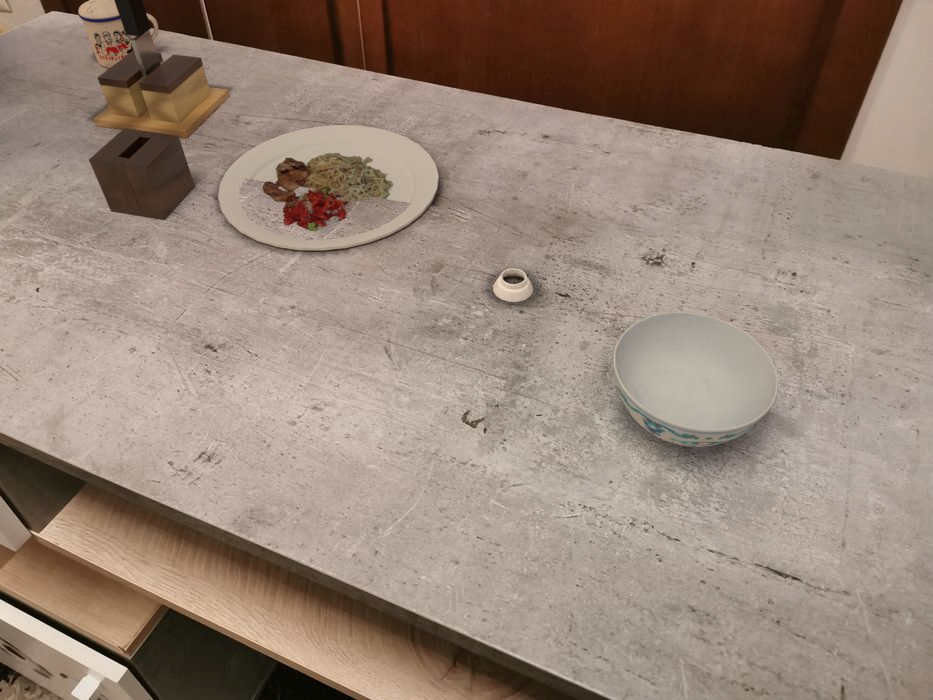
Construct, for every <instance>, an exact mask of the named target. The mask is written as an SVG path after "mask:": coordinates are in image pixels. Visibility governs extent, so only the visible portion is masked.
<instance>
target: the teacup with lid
mask: <svg viewBox="0 0 933 700" xmlns="http://www.w3.org/2000/svg"><path fill="white" fill-rule="evenodd" d="M77 14H78V17H79V18H80V19H81V21H82V24H83V26H84V30H85V31H86V34H87V37H88V39H89V42H90V44H91V48H92V50H93V53H94V56H95V58H96V61H97V63H98V64H99V65H100V66H102V67H104V68H106V69H109V68H111V67H112V66H113V65H115V64H116V63H117V62H119V61H120V60H121V59H123V58H124V57H125V56H126V55H128V54H129V53H130V52H132V51H133V47H132V44H131V41H130V40H132V39H133V38H134V37H136V36H132V35H126V33H125V30H124V27H123V24H122V21H121V18H120V16H119V13H118V10H117V7H116V4H115V1H114V0H88V1H85V2H83V3H82V4H81V5H80V6H79V7H78V13H77ZM146 14H147V17H148V20H149V22H151V23H152V25H153V28H154V29H153V33H152V34H151V37H152V40H153V41H155V40H156V39H157V37H158V34H159V24H158V21H157V19H156V18H155V17H154V16H153V15H151V13H148V12H146Z"/></svg>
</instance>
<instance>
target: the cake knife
mask: <svg viewBox="0 0 933 700" xmlns="http://www.w3.org/2000/svg"><path fill="white" fill-rule="evenodd" d="M114 1H115V4H116V7H117V10H118V13H119V16H120V18H121V21H122V24H123V27H124V30H125V33H126V35H132V36H136V37H134V38H133V39H132V40H130V41H131V44H132V47H133V50H134V53H135V56H136V59H137V62H138V65H139V68H140V71H141V74H142V76H143V79H144V78H145V77H147V76H148V75H149V74H150V73H151V72H153V71H154V70H155V69H156V68H158V67H159V66H160V62H159V59H158V56H157V53H158V52H157V50H156V47H155V44H154V40H152V37H151V35H152V34H151V31H150V30H152V27H151V24H150V20H148V17H147V14H148V13H147V11H146V8H145V5H144V1H143V0H114ZM146 13H147V14H146Z"/></svg>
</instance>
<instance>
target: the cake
mask: <svg viewBox="0 0 933 700" xmlns="http://www.w3.org/2000/svg"><path fill="white" fill-rule="evenodd" d="M156 53H157V56H158V59H159V62H160V66H159V67H158V68H156V69H155V70H154V71H153V72H151V73H150V74H149V75H148V76H147V77H145V78H144V79H143V76H142V74H141V71H140V68H139V65H138V62H137V59H136V56H135V53H134V50H133V51H132V52H130V53H129V54H128V55H126V56H125V57H124V58H123V59H121V60H120V61H119V62H117V63H116V64H115V65H113V66H112V67H111V68H107V69H106V71H104V72H103V73H101V74H100V75H99V76H98V77H97V80H98V83H99V85H100V88H101V91H102V93H103V96H104V98H105V101H106V104H107V107H105V109H103V110H102V111H100V112H99V113H98V114H97V115H96V116H95V117H93V118H92V121H93V123H94V125H95V126H96V127H102V128H108V129H109V128H111V129H116V130H123V129H124V128H128V129H135V130H142V131H149V132H156V133H163V134H171V135H178V136H179V139H180V138H181V139H188V138H189V137H190V136H191V135H192V134H193V133H194V132H196V130H197V129H198V128H199V127H200V126H201V125H202V124H203V123H205V121H206V120H207V119H208V118H209V117H210V116H211V115H213V113H214V112H215V111H216V110H217V109H218V108H219V107H220V106H221V105H222V104H223V103H224V102H226V100H227V99H228V98H229V97H230V92H229V90H228V89H226V88H221V87H220V88H219V87H210V85H209V81H208V79H207V78H208V77H207V73H206V71H205V67H204V63H203V60H202V57H200V56H199V57H198V56H191V55H181V54H172V55H171V56H170V57H169V58H167V59H166V60H165V61H164V59H163V55H162V53H161V52H156Z"/></svg>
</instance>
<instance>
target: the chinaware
mask: <svg viewBox="0 0 933 700" xmlns="http://www.w3.org/2000/svg"><path fill="white" fill-rule="evenodd" d="M612 369H613V377H614V381H615V386H616V390H617V392H618V395H619V397H620V400H621V402H622V403H623V405H624V407H625V409H626V411H627V412H628V413H629V414H630V416H631V417H632V418H633V420H634V421H635V422H636V423H637V424H638V425H639V426H641V428H643V429H644V430H646V431H647V432H648V433H650V434H651V435H653V436H654V437H657V438H658V439H660V440H662V441H665V442H668V443H670V444H674V445H677V446H681V447H682V446H683V447H689V448H690V447H691V448H702V447H703V448H704V447H713V446H718V445H721V444H725V443H728V442H730V441H732V440H734V439H736V438H739V437H740V436H741V435H744V434H745V433H746V432H748V431H750V430H751V429H753V428H754V427H755V426H756V425H757V424H758V423H759V422H760V421H761V420H762V419H763V418H764V417H765V416H766V414H767V413H768V412H769V411H770V409H771V408H772V406H773V405H774V404H775V402H776V399H777V396H778V391H779V375H778V371H777V368H776V366H775V363H774V361H773V359H772V358H771V356H770V354H769V353H768V352H767V350H766V349H765V348H764V347H763V345H762V344H761V343H760V342H759V341H758V340H756V339H755V338H754V337H753V336H751V335H750V334H749V333H747V332H746V331H745V330H743V329H741V328H739V327H738V326H736V325H735V324H732V323H730V322H728V321H726V320H724V319H721V318H718V317H715V316H711V315H708V314H704V313H700V312H699V313H698V312H692V311H665V312H661V313H656V314H652V315H649V316H646V317H644V318H641V319H639V320H637V321H636V322H634V323H633V324H631V325H630V326H628V328H626V329H625V330H624V332H623V333H621V335H620V337H619V338H618V340H617V342H616V343H615V347H614V350H613V356H612Z"/></svg>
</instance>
